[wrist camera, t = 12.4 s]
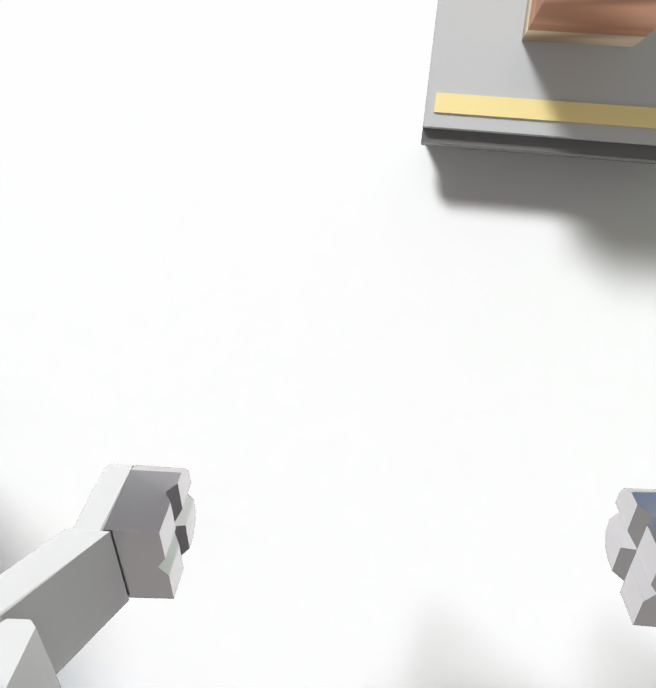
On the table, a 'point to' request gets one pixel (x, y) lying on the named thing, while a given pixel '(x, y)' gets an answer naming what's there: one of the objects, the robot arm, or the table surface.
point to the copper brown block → (589, 21)
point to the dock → (536, 89)
